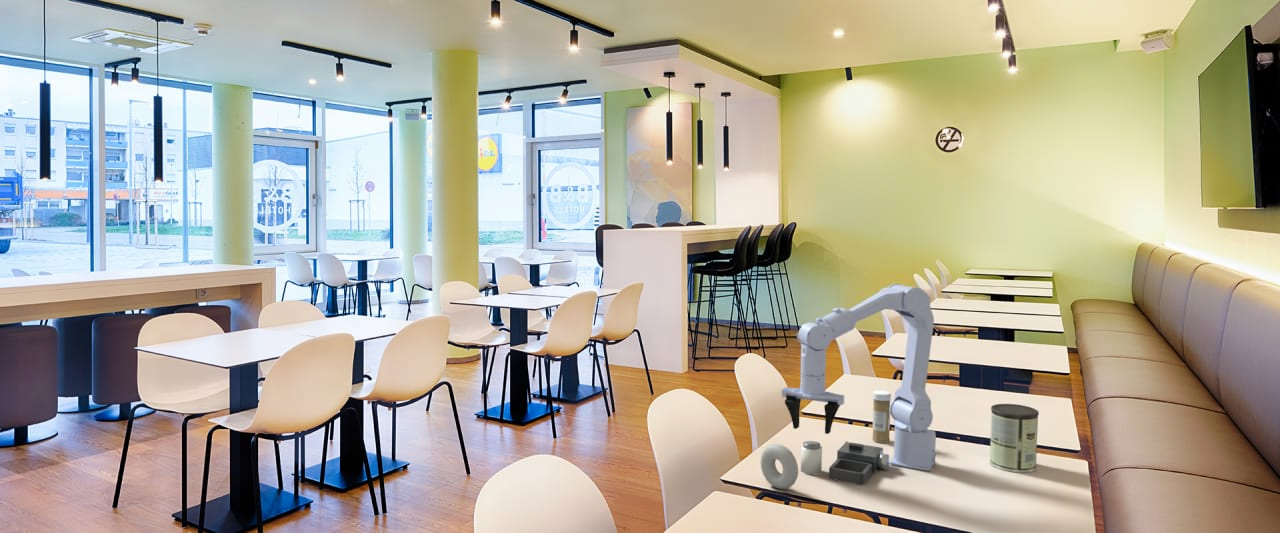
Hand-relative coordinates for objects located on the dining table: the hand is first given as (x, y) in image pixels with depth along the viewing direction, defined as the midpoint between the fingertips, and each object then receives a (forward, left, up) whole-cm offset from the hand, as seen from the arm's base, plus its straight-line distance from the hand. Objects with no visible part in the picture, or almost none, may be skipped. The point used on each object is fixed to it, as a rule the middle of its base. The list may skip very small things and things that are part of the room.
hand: (811, 430), depth 175 cm
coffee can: (-41, -29, -10) cm, 51 cm away
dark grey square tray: (-9, -2, -10) cm, 14 cm away
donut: (+3, +14, -10) cm, 18 cm away
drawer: (-9, -10, -10) cm, 17 cm away
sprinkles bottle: (-9, -32, -10) cm, 35 cm away
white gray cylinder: (0, 0, -10) cm, 10 cm away
